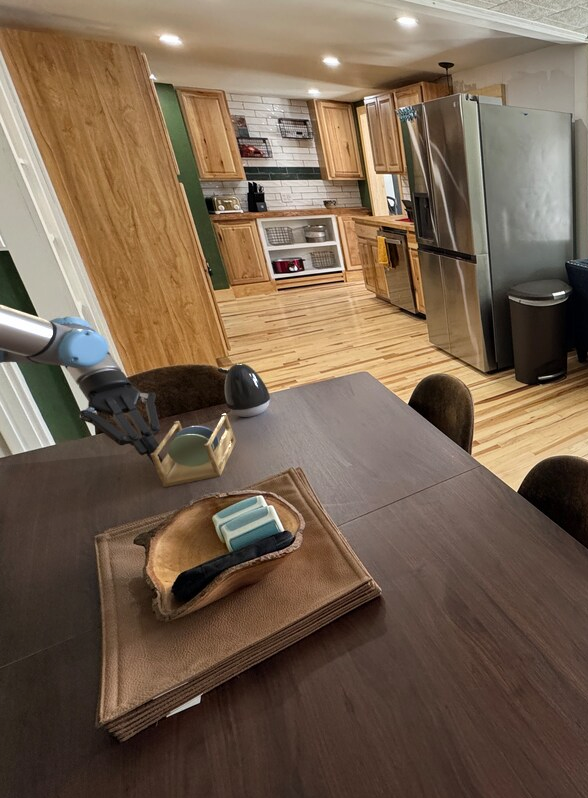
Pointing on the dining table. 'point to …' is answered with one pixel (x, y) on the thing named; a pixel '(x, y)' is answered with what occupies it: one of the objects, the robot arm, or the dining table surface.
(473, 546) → the dining table surface
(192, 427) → the dish rack
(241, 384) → the pump dispenser
